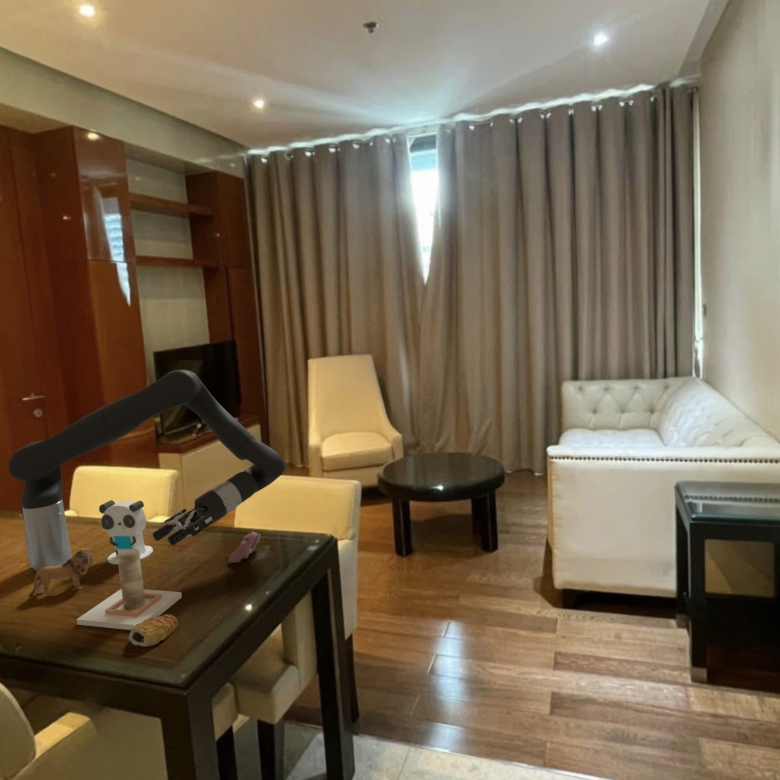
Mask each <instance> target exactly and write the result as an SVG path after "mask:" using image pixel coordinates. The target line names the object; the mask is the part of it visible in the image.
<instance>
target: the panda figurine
mask: <svg viewBox="0 0 780 780" xmlns="http://www.w3.org/2000/svg"><path fill="white" fill-rule="evenodd" d="M144 506H145V504H144V501H142V500H137V501H136V502H135V501H130V500H122V501H119V502H117V503H115V501H114V500H112V499H111V500H108V501H107V502H105V503H103V504H101V505H99V506H98V510H99V511H98V512H99V513H100V514H103V515H102V516H101V521H100V522H101V526H102V528H103V530H105V532H106V534H108V535H109V536H110V538H109V542H110V544H111V545H112V546H113V548H114V552H113V553H111V554H110V555H109V556H107V562H108V563H109V564H111V565H118V558H117V555H118V554H119V553H120V552H122V551H125V550H129V549H137V550H139V553H140V561H142V560H144V559H146V558H148V557H150V556H151V555H152V554H153V552H154V549H153V547H152V546H150V545H145V541H144V534H143V531H144V530H145V528H146V526H147V525H146V524H147V516H146V514H145V511H144V509H143V508H144ZM151 553H152V554H151ZM150 554H151V555H150Z"/></svg>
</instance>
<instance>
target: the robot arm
mask: <svg viewBox="0 0 780 780" xmlns="http://www.w3.org/2000/svg"><path fill="white" fill-rule="evenodd" d="M183 405H184V406H185V407H186V408H188V409H189V410H190V411H192V412H193V413H195V414H196V415H197V416H198V417H199V418H200V419H201V420H202V421H203V422H204V423H205V424H206V425H207V426H208V428H209V429H210V430H211V432H212V433H213V434H214V436H215V437H216V438H217V439H218V441H219V442H220V443H222V445H223V446H224V447H225V448H226V449H227V450H228V451H230V453H232V455H234V456H235V457H236V458H237V459H239V460H241V461H245V460H247V461H249V462H250V463H252V464H253V465H250V467H248V468H247V469H245V470H244V471H240V472H238V473H236V474H234V475H233V476H231V477H230V478H228V479H226V480H225V481H223V482H221V483H219V484H217V485H215V486H214V487H212V488H211V489H209V490H208V491H206V492H204V493H203V494H200V495H199V496H198V497H197V498H195V499H194V502H193V503H194V508H192V509H188V510H187V508H184V509H183V508H182V510H179V512H177V513H176V514H174V515H172V516H170V517H169V518H168V519H165V520H164V525H162V526H161V527H160V528H158V529H157V530H155V531H154V532H152V534H151V535H152V537H153V539H154V540H155V541H157V542H159V541H161V540H162V539H163V538H165V537H166V536H167V541H168V543H169V545H170V546H175V545H177V544H178V543H179V542H180V541H182V540H184V539H185V538H189V537H191V536H192V537H194V536H195V537H197V535H198V534H199V533H201V532H202V531H204V530H205V529H207V528H208V527H210V526H211V525H214V524H215V523H217V522H218V521H219V520H221V519H222V518H224V517H225V516H227V515H228V514H230V513H231V512H233V510H235V509H236V508H237V507H238V506H240V505H241V504H242V503H244V502H246V501H247V500H248V499H250V498H252V496H253V495H255V494H256V493H258V492H259V491H261V490H263V489H264V488H266V487H268V486H270V485H271V484H273V482H275V481H276V480H277V479H278V478H279V477H281V476H282V475H283V473H284V472H285V470H286V463H285V461H284V458H283V457H282V456H281V455H280V453H279V452H278V451H276V450H275V449H273V448H272V447H270V446H269V445H267V444H265V443H264V442H262V441H260V440H258V439H257V438H256V437H255V436H254V435H253V434H252V433H251V432H249V431H248V430H247V428H246V427H244V426H243V425H242V424H241V423H240V422H239V421H238V420H237V419H236V418H234V417H233V416H232V414H230V412H228V411H227V410H226V409H225V408H224V407H223V406H222V405H221V404H220V403H219V402H218V401H217V400H216V398H215V397H214V396H213V395H212V394H211V392H210V391H209V390H208V388H207V387H206V385H205V384H204V383H203V382H202V380H201V379H200V378H199V376H198V375H197V374H196V373H194V372H193V371H191V370H187V369H175V370H172V371H169V372H168V373H166V374H165V375H163V376H161V377H160V378H158V379H157V380H156V381H155V382H153V383H151V384H149V385H148V386H146V387H145V388H143V389H141V390H139V391H137V392H135V393H133V394H130V395H127V396H124V397H121V398H119V399H117V400H115V401H113V402H110V403H108V404H105V405H103V406H102V407H100V408H97V409H95V410H94V411H92V412H90V413H88V414H86V415H85V416H83V417H81V418H80V419H78V420H76V421H75V422H73V423H71V424H70V425H69V426H67V427H66V428H65V429H63V430H61V431H60V432H58V433H57V434H54V435H52V436H50V437H49V438H47V439H44V440H37V441H34V442H33V441H32V442H29V443H28V444H26V445H24V446H23V447H20V448H18V449H17V450H16V451H15V452H13V454H12V455H11V457H10V459H9V461H8V472H9V473H10V475H11V477H13V478H14V479H16V480H17V481H20V482H24V488H23V493H22V494H21V496H20V499H21V500H20V501H21V502H20V503H21V508H22V512H23V518H24V523H25V529H26V532H25V533H24V539H25V546H26V552H27V556H28V562H29V563H28V564H29V568H30V569H33V571H34V572H38V571H39V570H40V569H41V568H43V567H46V566H60V565H63V564H65V563H66V562H67V561H68V560H69V559H70V558H72V557H73V556H72V554H73V553H72V549H71V541H70V537H69V536H70V535H69V531H68V524H67V519H66V514H65V508H64V507H65V506H64V501H63V495H62V493H63V492H62V491H63V485H64V484H63V475H62V474H63V473H62V467H61V466H62V465H63V464H65V463H67V462H69V461H71V460H73V459H75V458H77V457H78V458H79V457H80V456H83V455H86V454H88V453H90V452H93V451H96V450H97V449H100V448H102V447H104V446H107V445H109V444H112V443H113V442H115V441H118V440H119V439H122V438H123V437H125V436H126V435H129V434H130V433H131V432H133V431H135V430H136V429H137V428H139V427H140V426H141V425H143V424H145V422H146V421H148V420H149V419H151V418H152V417H154V416H157V415H158V414H161V413H164V412H166V411H168V410H171V409H174V408H177V407H180V406H183ZM171 533H172V534H171ZM168 535H169V536H168Z"/></svg>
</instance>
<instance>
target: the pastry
mask: <svg viewBox="0 0 780 780" xmlns="http://www.w3.org/2000/svg"><path fill="white" fill-rule="evenodd" d="M178 625H179V621H178V618H177V616H174V615H173V614H167V613H166V614H163V615H159V616H157V617H153V618H151V619H145V620H144V621H143V622H142V623H138V624H136V626H135V628H132V630H130V633H129V636H128V640H129V642H131V644H132V645H134V646H138V645H139V646H141V647H144V648H146V647H148V648H149V647H154V646H155V645H158V644H159V642H161V641H164V640H165V639H167V637H169V636H170V635H171V634H172V633H174V631H175V630H176V629H177V628H178Z"/></svg>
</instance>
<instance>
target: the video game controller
mask: <svg viewBox="0 0 780 780" xmlns="http://www.w3.org/2000/svg"><path fill="white" fill-rule="evenodd" d="M261 537H262V534H260V533H258V532H254V531H251V533H247V534H246V535H244V537H243V539H242V541H241V542H240V543H239V545H238V547H237V548H236V549H235V550H234V551H233V552H232V553H231V554H229V557H228V561H229V563H230V564H235V563H238V562H240V561H241V560H242V559H244V560H247V559H248V557H249V555H250V554H253V553H254V552H255V550H256V547H257V545H258V543H259V542H260V539H261ZM246 558H247V559H246Z"/></svg>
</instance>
